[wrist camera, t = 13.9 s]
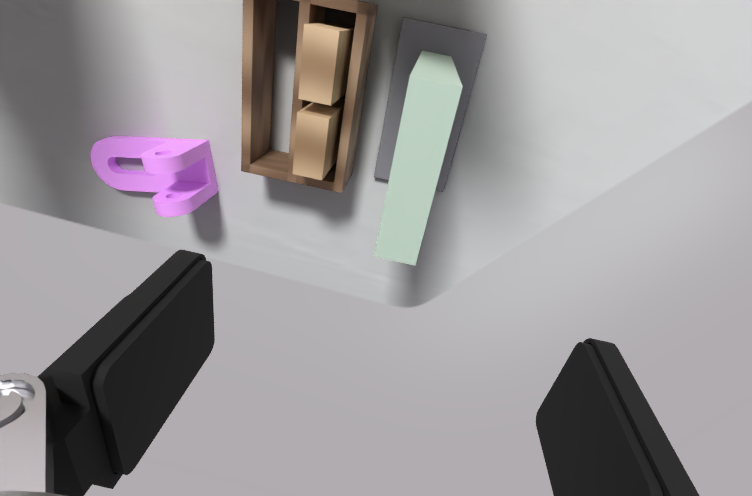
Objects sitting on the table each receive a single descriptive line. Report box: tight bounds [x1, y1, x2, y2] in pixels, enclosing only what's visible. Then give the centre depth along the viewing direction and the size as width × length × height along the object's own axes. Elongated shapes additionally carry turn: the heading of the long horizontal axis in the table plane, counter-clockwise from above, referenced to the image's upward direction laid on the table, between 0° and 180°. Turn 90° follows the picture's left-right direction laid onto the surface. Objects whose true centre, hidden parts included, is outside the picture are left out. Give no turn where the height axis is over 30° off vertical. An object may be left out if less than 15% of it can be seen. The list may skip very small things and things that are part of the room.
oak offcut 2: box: [293, 99, 345, 180], centre depth 36 cm, size 5×2×8 cm, turn 170°
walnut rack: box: [241, 0, 378, 193], centre depth 36 cm, size 15×9×5 cm, turn 170°
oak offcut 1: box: [298, 23, 355, 106], centre depth 33 cm, size 5×2×8 cm, turn 170°
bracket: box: [90, 136, 218, 217], centre depth 41 cm, size 13×6×7 cm, turn 90°
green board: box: [374, 51, 463, 266], centre depth 29 cm, size 10×2×18 cm, turn 170°
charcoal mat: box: [374, 17, 487, 192], centre depth 37 cm, size 14×7×1 cm, turn 170°
